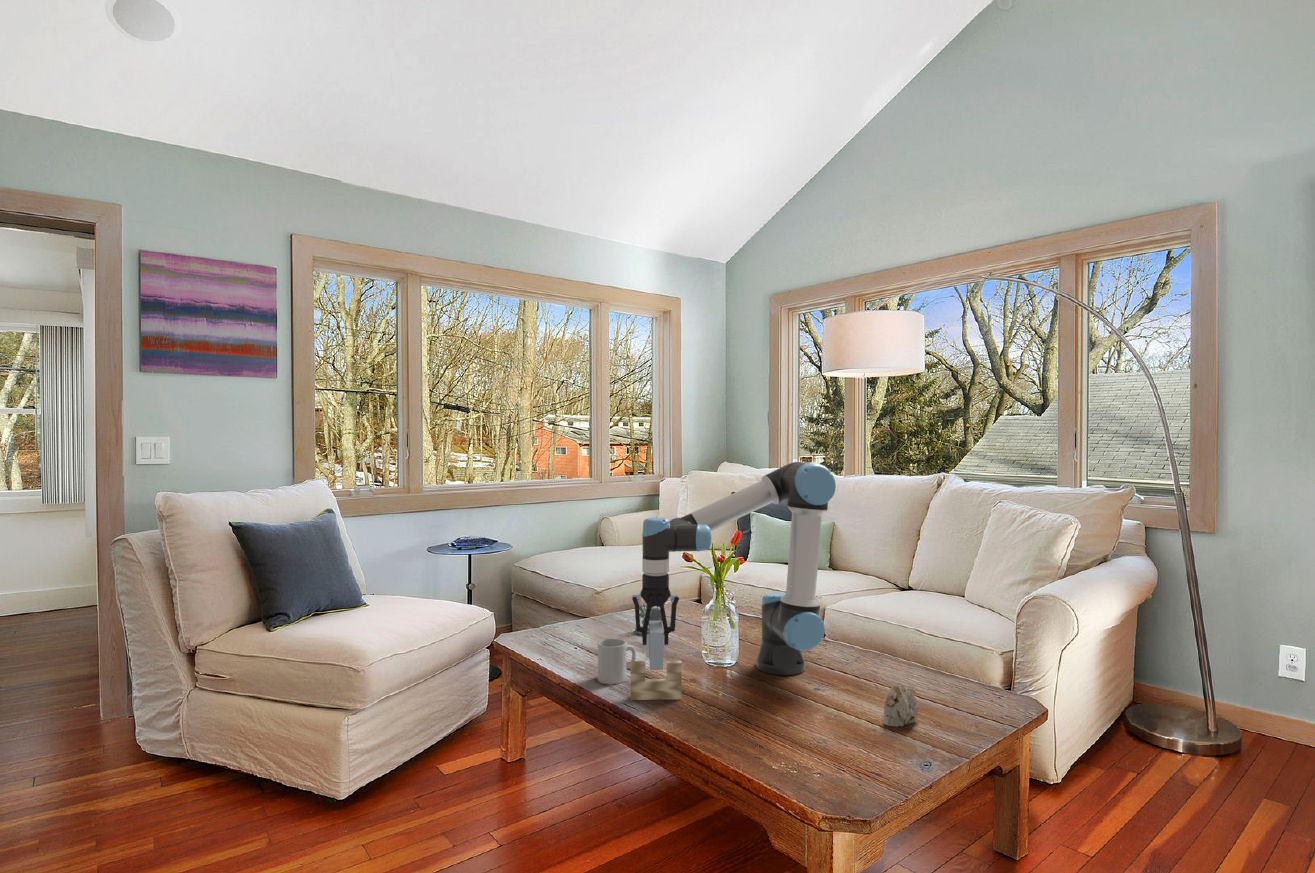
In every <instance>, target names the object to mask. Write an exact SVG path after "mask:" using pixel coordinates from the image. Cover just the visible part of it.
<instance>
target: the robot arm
mask: <svg viewBox="0 0 1315 873" xmlns="http://www.w3.org/2000/svg"><path fill="white" fill-rule="evenodd" d="M836 485H837V484H836V478H835V477H834V474H833V473H832V472H831V470H830V469H828V468H827V467H826V466H824V465H822V464H819V463H817V462H802V461H794V462H790V463H787V464H785V465H783V466H781V467H779V468H777V469H775V470H773V471H771V472H769V473H767V474H765V475H763V476H762V477H761V480H760V481H757V482H755V483H753V484H752V485H749V486H747V487H745V488H742V489H740V490H738V491H736V492H734V493H733V492H732V494H729V495H727V496H725V497H723V498H721V499H719V500H716V501H714V502H712V503H710V504H708V505H706V506H705V505H704V506H703V507H701V508H699V509H696V510H695V511H693V512H691V513H689V514H686V515H684V516H682V517H674V518H671V519H668V518H666V517H647V518H645V519H644V520H643V523H642V533H641V536H642V538H641V539H642V560H641V561H642V562H641V563H642V564H641V565H642V567H641V568H642V570H641V571H642V573H643V574H642V575H641V576H642V577H641V578H642V580H641V581H642V587H641V591H640V593H638V594H634V595H632V597H631V599H632V600H631V601H632V602H633V604H634V614H635V615H634V616H635V618H634V619H635V629H636V631H637V632H641V633H642V636H641V638H642V640H641V641H642V642H641V643H642V646H646V648H645V651H646V656H645V657H646V659H649V632H647V629H648V623H649V618H650V612H651V608H655V607H656V608H657V607H658V608H659V609H660V611H661V616H662V628H663V630H664V632H663V659H665V646H667V645H669V634H670V633H673V632H675V631H676V620H677V619H676V616H677V605H678V603H679V600H680V597H679V595H678V594H673V593H671V591H670V574H669V572H670V553H671V552H672V553H673V552H674V553H675V552H702V551H703V552H704V551H708V550H709V549H711V545H712V531H714V530H717V529H718V528H721V527H722V526H725V525H727V524H729V523H731V522H733V521H736V520H738V519H740V518H742V517H744V516H747V515H749V514H751V513H752V512H753V513H754V512H755V511H757V510H760V509H761V508H763V507H764V508H765V507H766V506H768V505H770V504H774V505H778V504H779V503H782V502H785V501H787V508H788V509H789V511H790V512H791V520H790V521H791V523H790V537H789V546H788V547H789V549H788V560H787V561H788V563H787V564H788V565H787V575H786V576H787V577H786V587H785V588H786V591H785V592H774V593H767V594H764V595H763V596H762V599H761V605H760V606H761V643H760V647H759V649H758V653H757V655H756V660H755V661H756V664H755V665H756V669H758V670H759V671H761V672H763V673H766V674H770V675H777V676H793V675H799V674H801V673H803V672H805V671H806V660H805V658H804V654H803V652H807V651H810V650H813V649H815V648H816V647H817V646H818V645H820V644H821V642H822V641H823V639H824V637H825V632H826V631H825V630H826V628H825V623H824V621H823V619H822V618H821V616H820V613H821V602H820V601H819V600H818V598H817V597H816V594H817V584H818V583H817V581H818V571H819V570H818V568H819V554H820V542H821V530H822V528H821V527H822V516H823V515H824V514H825V513H826V512H828V509H829V508H828V507H829V506H828V505H829V501H831V500H832V499H833V497H834V495H835V493H836V487H837V486H836ZM669 598H670V599H669ZM642 599H643V602H645V603H646V606H647V607H646V606H645V608H646V611H645V612H646V613H645V616H644V617H645V618H643V619H644V624H642V626H643V627H642V626H641V617H640V613H641V612H640V610H639V606H640V603H641V602H642V601H641V600H642ZM668 600H670V602H671V607H670V608H671V609H670V624H669V626H668V623H667V622H668V621H667V616H666V610H665V604H666V603H667V601H668Z"/></svg>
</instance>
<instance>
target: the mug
mask: <svg viewBox="0 0 1315 873" xmlns="http://www.w3.org/2000/svg"><path fill="white" fill-rule="evenodd" d="M628 651H630V652H631V660H630V661H629V662H627V652H628ZM636 657H637V656H636V650H635V647H634V646H633V645H631V644H627V641H625V640H624V639H619V638H605V639H601V640H599V641H598V643H597V681H598V682H599V683H601V684H604V685H618V684H622V683H624V682H625V681H626V680H627V669H629V668H630V669H631V661H636Z"/></svg>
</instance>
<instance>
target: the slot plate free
mask: <svg viewBox="0 0 1315 873" xmlns="http://www.w3.org/2000/svg"><path fill="white" fill-rule="evenodd" d="M663 630H664V628H663V622H661V621H649V658H648V660H649V670H650V671H664V658H663Z"/></svg>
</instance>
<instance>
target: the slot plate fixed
mask: <svg viewBox="0 0 1315 873" xmlns="http://www.w3.org/2000/svg"><path fill="white" fill-rule="evenodd" d="M630 661H631V660H630ZM682 668H683V667H682V660H666V678H646V661H645V660H635V661H631V667H630V701H651V700H655V701H657V700H659V701H661V700H666V701H667V700H682V687H683V686H682V683H683V681H682V680H683V679H682V676H683V675H682V673H683V672H682V671H683V670H682Z"/></svg>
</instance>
